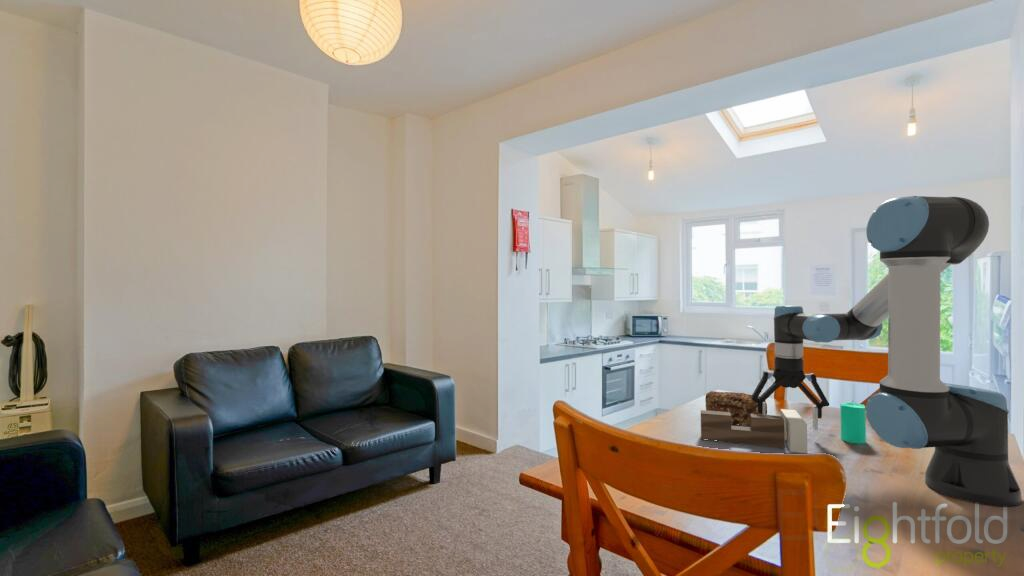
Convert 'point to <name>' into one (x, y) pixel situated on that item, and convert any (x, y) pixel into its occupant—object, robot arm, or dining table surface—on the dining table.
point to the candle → (853, 423)
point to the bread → (733, 405)
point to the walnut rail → (743, 429)
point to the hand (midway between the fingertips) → (789, 426)
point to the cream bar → (794, 431)
